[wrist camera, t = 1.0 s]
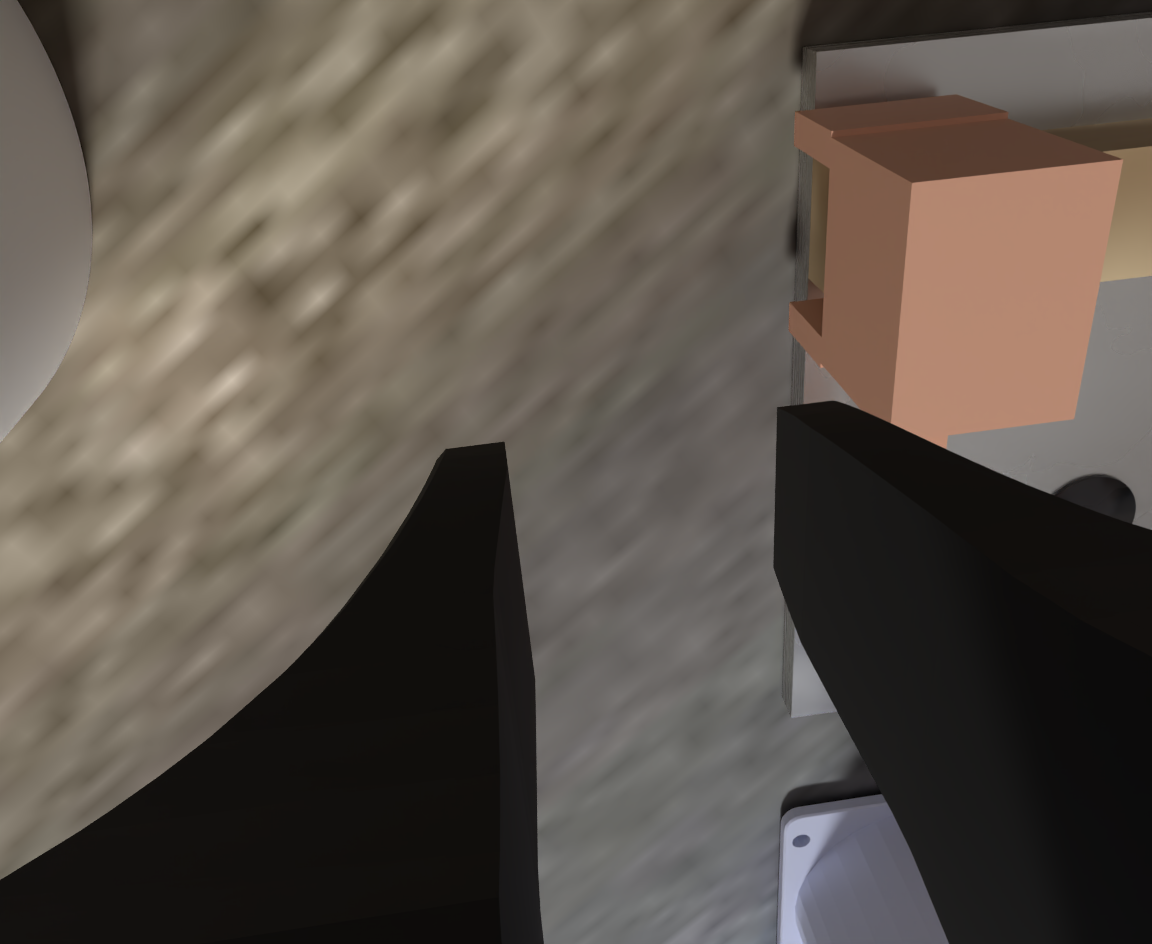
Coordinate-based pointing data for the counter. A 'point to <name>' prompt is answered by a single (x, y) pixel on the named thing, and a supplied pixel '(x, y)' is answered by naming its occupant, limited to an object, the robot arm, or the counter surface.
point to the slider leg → (955, 263)
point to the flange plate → (1124, 307)
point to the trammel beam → (1140, 218)
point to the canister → (37, 219)
